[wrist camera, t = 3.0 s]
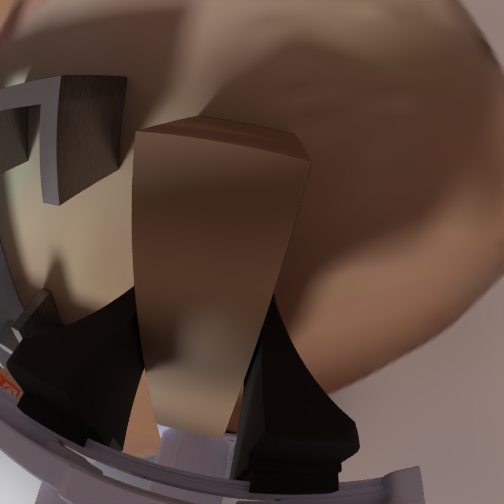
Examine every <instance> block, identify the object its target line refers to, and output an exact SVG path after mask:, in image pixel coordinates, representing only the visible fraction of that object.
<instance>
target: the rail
mask: <svg viewBox="0 0 504 504" xmlns="http://www.w3.org/2000/svg"><path fill="white" fill-rule="evenodd" d="M311 163H312V161H311V159H310V158H309V156H308V155H307V153H306V151H305V150H304V148H303V147H302V145H301V143H300V142H299V140H298V139H297V137H296V136H295V134H292V133H288V132H284V131H280V130H275V129H271V128H266V127H261V126H256V125H251V124H246V123H240V122H235V121H229V120H223V119H216V118H210V117H202V116H195V117H190V118H185V119H181V120H176V121H172V122H168V123H164V124H160V125H156V126H152V127H149V128H145V129H141V130H138V131H136V134H135V145H134V159H133V178H132V252H133V271H134V285H135V297H136V307H137V316H138V325H139V333H140V340H141V347H142V353H143V360H144V365H145V371H146V377H147V382H148V387H149V392H150V397H151V401H152V406H153V410H154V414H155V419H156V423H157V424H158V425H162V426H165V427H169V428H173V429H176V430H180V431H184V432H189V433H193V434H198V435H202V436H207V437H212V438H217V439H223V436H224V433H225V431H226V428H227V425H228V423H229V420H230V417H231V414H232V412H233V409H234V406H235V404H236V401H237V398H238V395H239V392H240V390H241V387H242V384H243V381H244V378H245V376H246V373H247V370H248V367H249V364H250V361H251V358H252V355H253V352H254V349H255V347H256V344H257V341H258V338H259V335H260V332H261V329H262V326H263V323H264V320H265V317H266V313H267V310H268V307H269V304H270V301H271V298H272V295H273V292H274V289H275V285H276V282H277V279H278V276H279V273H280V270H281V266H282V263H283V260H284V257H285V253H286V250H287V247H288V243H289V240H290V237H291V233H292V230H293V227H294V223H295V220H296V216H297V213H298V210H299V206H300V203H301V199H302V196H303V192H304V189H305V185H306V181H307V178H308V174H309V171H310V167H311Z"/></svg>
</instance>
